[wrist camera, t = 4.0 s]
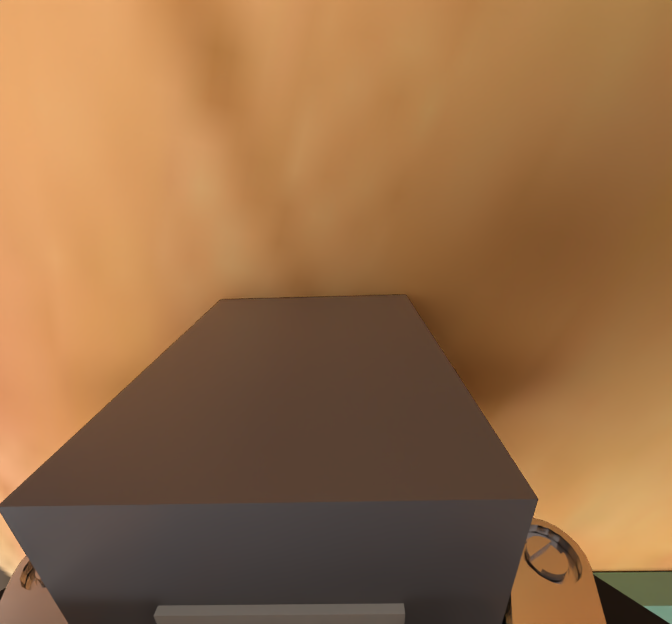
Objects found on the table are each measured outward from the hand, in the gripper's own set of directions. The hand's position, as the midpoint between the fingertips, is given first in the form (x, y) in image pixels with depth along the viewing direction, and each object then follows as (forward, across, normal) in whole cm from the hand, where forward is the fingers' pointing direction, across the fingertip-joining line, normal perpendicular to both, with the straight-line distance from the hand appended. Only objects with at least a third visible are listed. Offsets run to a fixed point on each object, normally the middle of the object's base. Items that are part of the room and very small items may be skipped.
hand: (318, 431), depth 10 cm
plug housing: (+1, 0, 0) cm, 1 cm away
